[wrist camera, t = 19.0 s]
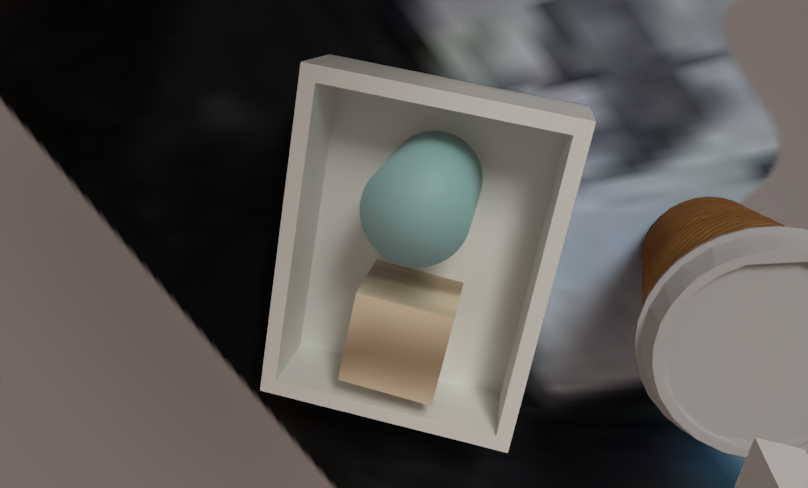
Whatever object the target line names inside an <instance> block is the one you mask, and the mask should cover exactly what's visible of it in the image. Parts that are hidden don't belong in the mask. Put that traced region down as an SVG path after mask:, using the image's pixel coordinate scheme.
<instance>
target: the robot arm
mask: <svg viewBox="0 0 808 488" xmlns="http://www.w3.org/2000/svg"><path fill="white" fill-rule="evenodd" d="M734 488H808V454H807V453H806V451H805V449H801V448H797V447H793V446H789V445H785V444H781V443H776V442H772V441H768V440H764V439H760V438H756V437H755V438H754V440H753V443H752V445H751V448H750V450H749V453H748V455H747V458H746V460H745V462H744V465H743V467H742V470H741V472H740V475H739V477H738V479H737V482H736V484H735V487H734Z"/></svg>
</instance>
